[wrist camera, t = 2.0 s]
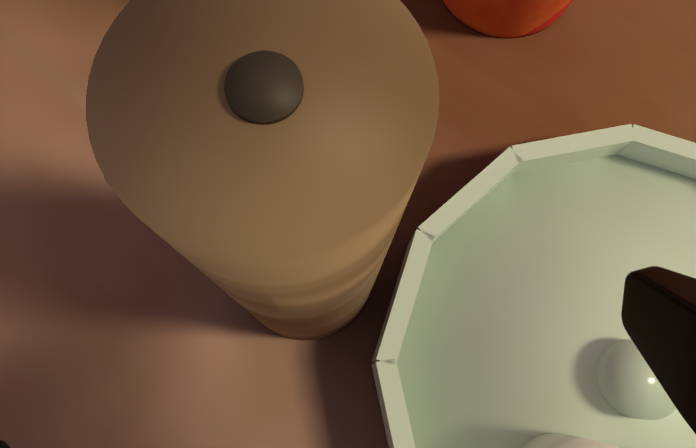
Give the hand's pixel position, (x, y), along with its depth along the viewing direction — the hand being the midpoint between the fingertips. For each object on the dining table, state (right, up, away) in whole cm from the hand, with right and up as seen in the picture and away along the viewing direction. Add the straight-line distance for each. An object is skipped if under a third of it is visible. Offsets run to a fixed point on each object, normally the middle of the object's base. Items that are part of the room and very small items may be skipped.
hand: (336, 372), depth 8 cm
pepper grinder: (-1, 0, +11) cm, 11 cm away
